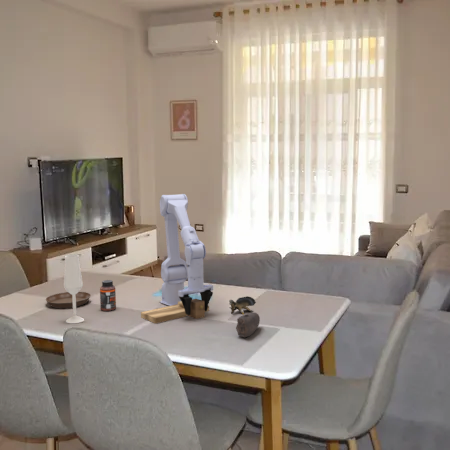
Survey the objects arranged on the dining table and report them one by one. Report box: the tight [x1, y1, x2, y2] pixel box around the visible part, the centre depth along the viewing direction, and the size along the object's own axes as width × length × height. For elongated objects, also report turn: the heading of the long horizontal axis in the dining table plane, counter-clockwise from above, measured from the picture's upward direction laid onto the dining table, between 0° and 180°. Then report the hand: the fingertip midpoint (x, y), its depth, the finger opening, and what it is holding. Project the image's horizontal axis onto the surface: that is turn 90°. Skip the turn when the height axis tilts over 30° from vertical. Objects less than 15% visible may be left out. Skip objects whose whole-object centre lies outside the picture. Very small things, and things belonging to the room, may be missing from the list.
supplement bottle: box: [99, 279, 117, 312], centre depth 218 cm, size 6×6×11 cm
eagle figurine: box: [228, 295, 257, 315], centre depth 211 cm, size 8×7×9 cm
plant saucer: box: [45, 291, 92, 309], centre depth 228 cm, size 18×18×3 cm
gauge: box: [178, 298, 206, 320], centre depth 210 cm, size 14×4×6 cm, turn 42°
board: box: [140, 304, 210, 325], centre depth 211 cm, size 10×24×2 cm, turn 129°
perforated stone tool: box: [235, 312, 261, 338], centre depth 187 cm, size 15×5×7 cm, turn 152°
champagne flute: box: [63, 254, 85, 324], centre depth 203 cm, size 7×7×24 cm
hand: (196, 312), depth 207 cm, fingers open, 7 cm apart
